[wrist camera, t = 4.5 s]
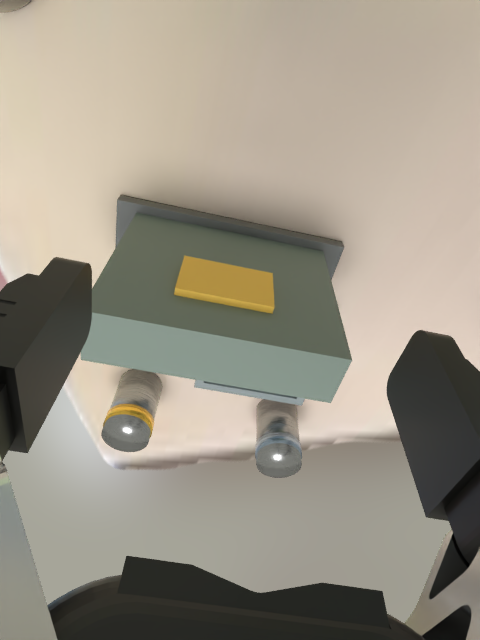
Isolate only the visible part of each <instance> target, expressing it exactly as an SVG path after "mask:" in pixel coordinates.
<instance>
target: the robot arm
mask: <svg viewBox="0 0 480 640" xmlns="http://www.w3.org/2000/svg"><path fill="white" fill-rule="evenodd" d="M91 320H92V270H91V266H90V264H89V263H84V262H79V261H74V260H69V259H64V258H59V257H55V258H54V259H53V260H52V261H51V262H50V263H49V264H48V265H47V267H46V268H45V269H44V270H43V272H42V273H41V274H40V275H39V276H38V275H33V274H26V275H24V276H22V277H20V278H18V279H16V280H14V281H12V282H10V283H8V284H7V285H6V286H5V287H4V288H3V289H2V290H1V291H0V640H480V371H478V370H477V369H476V368H475V367H474V366H473V365H472V364H471V363H470V362H469V361H468V360H467V359H465V358H464V356H463V354H462V352H461V351H460V349H459V347H458V346H457V344H456V342H455V340H454V339H453V338H452V337H451V336H448V335H443V334H438V333H433V332H428V331H423V330H419V331H417V332H416V333H414V335H413V336H412V337H411V339H410V341H409V343H408V344H407V346H406V348H405V349H404V351H403V353H402V355H401V356H400V358H399V360H398V361H397V363H396V365H395V366H394V368H393V370H392V372H391V374H390V376H389V379H388V383H387V397H388V400H389V404H390V407H391V410H392V413H393V416H394V419H395V422H396V425H397V428H398V431H399V435H400V438H401V441H402V444H403V447H404V450H405V453H406V456H407V459H408V462H409V466H410V469H411V472H412V475H413V478H414V481H415V484H416V487H417V490H418V493H419V497H420V500H421V503H422V506H423V509H424V512H425V515H426V517H428V518H434V519H440V520H447V521H449V523H450V525H451V528H452V529H451V530H450V531H449V532H448V533H447V534H446V535H445V537H444V539H443V541H442V544H441V546H440V549H439V551H438V554H437V556H436V559H435V561H434V564H433V566H432V569H431V571H430V573H429V576H428V579H427V581H426V584H425V586H424V589H423V591H422V593H421V596H420V598H419V601H418V603H417V605H416V607H415V609H414V610H413V612H412V614H411V615H410V617H409V618H408V619H407V620H406V622H405V623H402V622H401V621H399V620H397V619H396V618H394V617H392V616H391V615H389V614H387V611H386V607H385V602H384V597H383V592H382V591H377V590H370V589H363V588H356V587H349V586H342V585H334V584H327V583H319V584H312V585H307V586H301V587H295V588H289V589H283V590H277V591H272V592H266V593H257V592H253V591H250V590H248V589H246V588H243V587H241V586H239V585H236V584H234V583H232V582H230V581H228V580H225V579H223V578H220V577H218V576H216V575H214V574H212V573H209V572H207V571H205V570H203V569H200V568H198V567H196V566H194V565H189V564H182V563H175V562H167V561H160V560H154V559H146V558H139V557H132V556H126V560H125V564H124V568H123V572H122V575H118V576H112V577H106V578H103V579H100V580H97V581H93V582H90V583H88V584H85V585H83V586H80V587H78V588H76V589H74V590H72V591H70V592H68V593H67V594H65V595H63V596H61V597H59V598H58V599H56V600H54V601H53V602H52V603H50V604H49V605H47V603H46V600H45V596H44V593H43V590H42V586H41V583H40V580H39V576H38V573H37V569H36V566H35V563H34V559H33V556H32V553H31V549H30V546H29V543H28V539H27V536H26V533H25V529H24V526H23V523H22V519H21V516H20V513H19V509H18V506H17V503H16V500H15V496H14V492H13V489H12V486H11V482H10V479H9V476H8V473H7V470H6V467H5V465H4V464H3V463H2V461H3V459H4V457H5V455H6V454H7V452H8V450H10V451H17V452H23V453H28V451H29V449H30V448H31V446H32V444H33V442H34V440H35V438H36V436H37V434H38V432H39V430H40V428H41V427H42V424H43V423H44V421H45V419H46V417H47V415H48V413H49V411H50V409H51V407H52V406H53V404H54V402H55V400H56V398H57V396H58V394H59V392H60V390H61V388H62V386H63V385H64V383H65V381H66V379H67V377H68V375H69V373H70V371H71V369H72V367H73V365H74V364H75V362H76V360H77V358H78V356H79V354H80V352H81V350H82V348H83V346H84V344H85V343H86V340H87V338H88V335H89V331H90V327H91Z"/></svg>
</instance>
